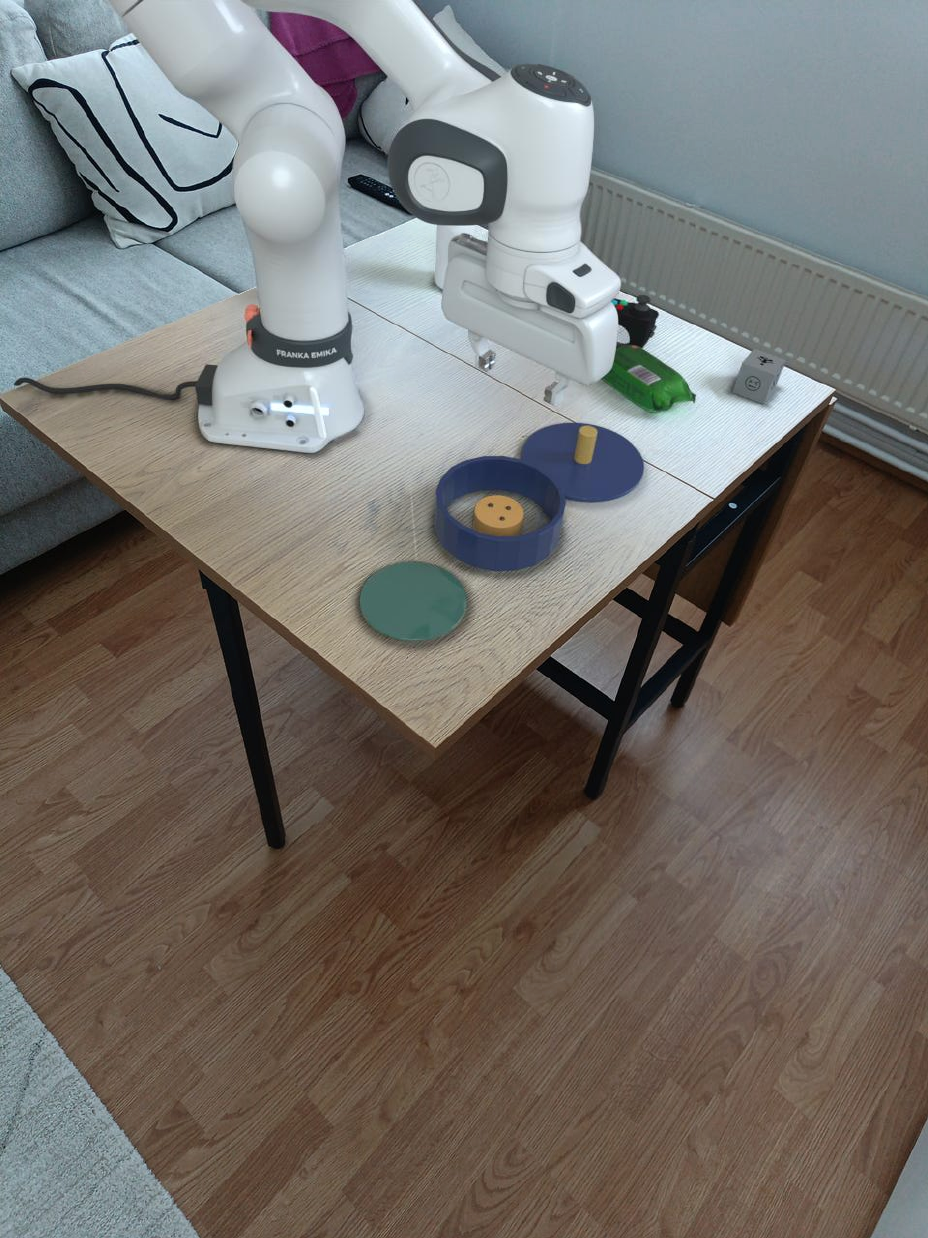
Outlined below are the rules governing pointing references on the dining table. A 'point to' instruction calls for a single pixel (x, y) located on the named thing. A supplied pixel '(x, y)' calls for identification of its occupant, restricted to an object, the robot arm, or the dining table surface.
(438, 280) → the can
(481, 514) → the cookie
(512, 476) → the cookie tin
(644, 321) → the controller
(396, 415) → the dining table surface
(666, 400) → the snack package
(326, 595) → the dining table surface
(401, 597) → the plate
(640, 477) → the tin lid
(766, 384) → the dice cube
